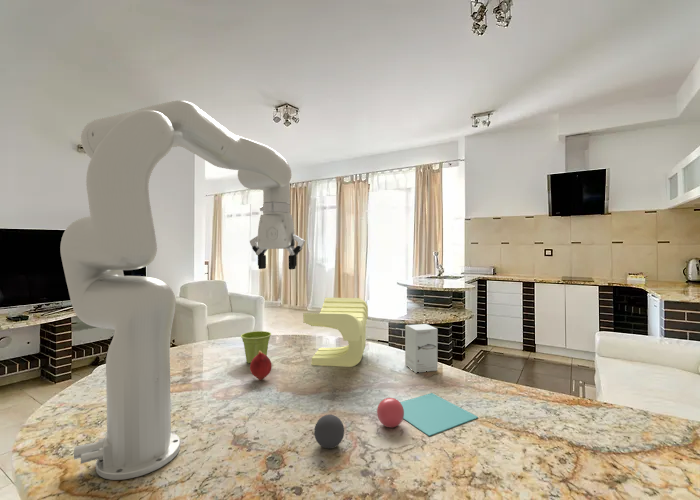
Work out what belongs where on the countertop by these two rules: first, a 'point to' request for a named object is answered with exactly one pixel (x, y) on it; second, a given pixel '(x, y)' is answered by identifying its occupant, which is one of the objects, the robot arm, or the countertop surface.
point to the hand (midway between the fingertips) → (277, 268)
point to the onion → (260, 366)
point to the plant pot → (255, 343)
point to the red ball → (390, 412)
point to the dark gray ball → (329, 431)
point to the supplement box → (421, 347)
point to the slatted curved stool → (341, 330)
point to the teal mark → (434, 414)
